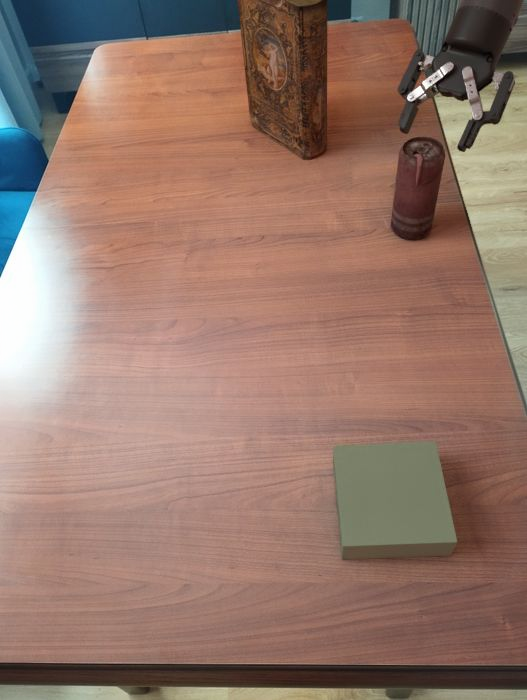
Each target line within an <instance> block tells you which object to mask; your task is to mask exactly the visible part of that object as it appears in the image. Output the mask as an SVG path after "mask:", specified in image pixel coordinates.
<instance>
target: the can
mask: <svg viewBox="0 0 527 700" xmlns="http://www.w3.org/2000/svg"><path fill="white" fill-rule="evenodd" d="M397 157H398V158H397V166H396V176H395V183H394V193H393V201H392V210H391V218H390V228H391V230H392V232H393V233H394V235H396V236H397V237H398V238H401V239H402V240H407V241H416V240H420V239H423V238H425V237H426V236H427V235H428V234H430V233H431V231H432V228H433V223H434V218H435V213H436V208H437V202H438V197H439V192H440V187H441V181H442V176H443V171H444V165H445V160H446V151H445V148H444V145H443V144H442V142H440V141H439V140H438V139H435V138H433V137H429V136H416V137H411V138H409V139H407V140H406V141H405V142H403V144H402V146H401V148H400V149H399V151H398V156H397Z"/></svg>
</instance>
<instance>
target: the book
mask: <svg viewBox="0 0 527 700" xmlns="http://www.w3.org/2000/svg"><path fill="white" fill-rule="evenodd" d="M328 1H329V0H237V9H238V18H239V27H240V28H239V29H240V35H241V46H242V56H243V64H244V65H243V66H244V74H245V84H246V94H247V95H246V96H247V103H248V112H249V119H250V124H251V126H252V127H253V128H254V129H256V130H258V131H259V132H260V133H262V134H263V135H264V136H266V137H268V138H269V139H271V140H272V141H274V142H275V143H277V144H279V145H280V146H282V147H283V148H285V149H286V150H288V151H289V152H291V153H292V154H295V155H296V156H297V157H299V158H301V159H302V160H304V161H305V160H306V161H307V160H308V161H309V160H314V159H317V158H319V157H321V156H322V155H324V154H325V153H326V152H327V150H328V5H329V4H328Z"/></svg>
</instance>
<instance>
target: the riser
mask: <svg viewBox="0 0 527 700" xmlns="http://www.w3.org/2000/svg"><path fill="white" fill-rule="evenodd" d="M332 452H333V453H332V464H333V466H332V467H333V476H334V489H335V501H336V510H337V522H338V531H339V542H340V545H339V546H340V554H341V560H368V559H394V558H395V559H396V558H423V557H424V558H425V557H450V556H452V554H453V552H454V550H455V548H456V546H457V544H458V538H457V533H456V529H455V523H454V519H453V515H452V514H453V513H452V510H451V505H450V499H449V496H448V491H447V486H446V481H445V477H444V473H443V472H444V471H443V468H442V463H441V460H440V454H439V449H438V445H437V440H427V441H426V440H425V441H424V440H423V441H403V442H402V441H401V442H384V443H363V444H361V443H360V444H341V445H333V449H332Z"/></svg>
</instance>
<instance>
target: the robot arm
mask: <svg viewBox="0 0 527 700" xmlns="http://www.w3.org/2000/svg"><path fill="white" fill-rule="evenodd" d="M524 3H525V0H460V3H459V5H458V7H457V10H456V12H455V14H454V17H453V19H452V21H451V23H450V26H449V29H448V31H447V33H446V34H445V35H446V36H445V38H444V40H443V42H442V45H441V48H440V50H439V52H438V53H437V54H436V55H435V56H432V55H430V54H426V53H424V51H423V50H422V48H421V49H420V48H419V49H416V50H415V51H414V53H413V55H412V57H411V59H410V62H409V63H408V65H407V67H406V69H405V71H404V74H403V76H402V78H401V80H400V82H399V84H398V87H397V93H398V94H399V95H400V96H401V97H402V99H404V100H405V105H404V107H403V109H402V111H401V114H400V117H399V119H398V124H397V125H398V126H399V131H400V132H401V133H402V134H405V135H408V134H409V133H410V130H411V128H412V126H413V124H414V121H415V119H416V116H417V114H418V112H419V106H420V105H422V104H423V103H425V102H426V101H427V100H429V99H432V98H434V97H435V96H437V95H438V94H440V95H441V96H442V97H445V98H454V99H456V100H457V101H459V102H464V101H467V100H468V103H469V107H470V109H471V115H472V117H471V119H468V121H467V123H466V126H465V128H464V130H463V132H462V135H461V137H460V139H459V141H458V143H457V147H456V148H457V150H458V152H462V153H465V152H466V151H467V149H468V150H470V149H471V148H472V147H473V146H474V143H475V141H476V139H477V137H478V135H479V133H480V131H481V128H482V127H483V126H485V125H491V124H492V125H494V126H495V125H498V124H500V122H501V120H502V118H503V115H504V112H505V110H506V107H507V105H508V102H509V100H510V97H511V94H512V93H513V90H514V87H515V85H516V78H515V75H514V72H513V71H511V70H508V71H506V72H501V71H496V67H497V64H498V62H499V60H500V58H501V56H502V53H503V51H504V49H505V47H506V45H507V42H508V40H509V37H510V36H511V33H512V31H513V29H514V27H516V25H517V22H518V19H519V16H520V13H521V11H522V9H523V7H524V6H523V5H524ZM429 68H431V70H432V74H431V75H430V76H428V77H427V78H425V79H424V80H423V81H421V83H420V85H419V86H417V87H416V85H417V83H418V81H419V78H420V77H421V76H422V73H425V72H427V70H428V69H429ZM492 83H494V89H495V91H496V93H495V96H494V98H493V101H492V103H491V106H490V109H489V110H484V108H483V103H482V98H481V91H483V90H485V88H487V87H488V86H489V85H491V84H492ZM415 87H416V88H415Z"/></svg>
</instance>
